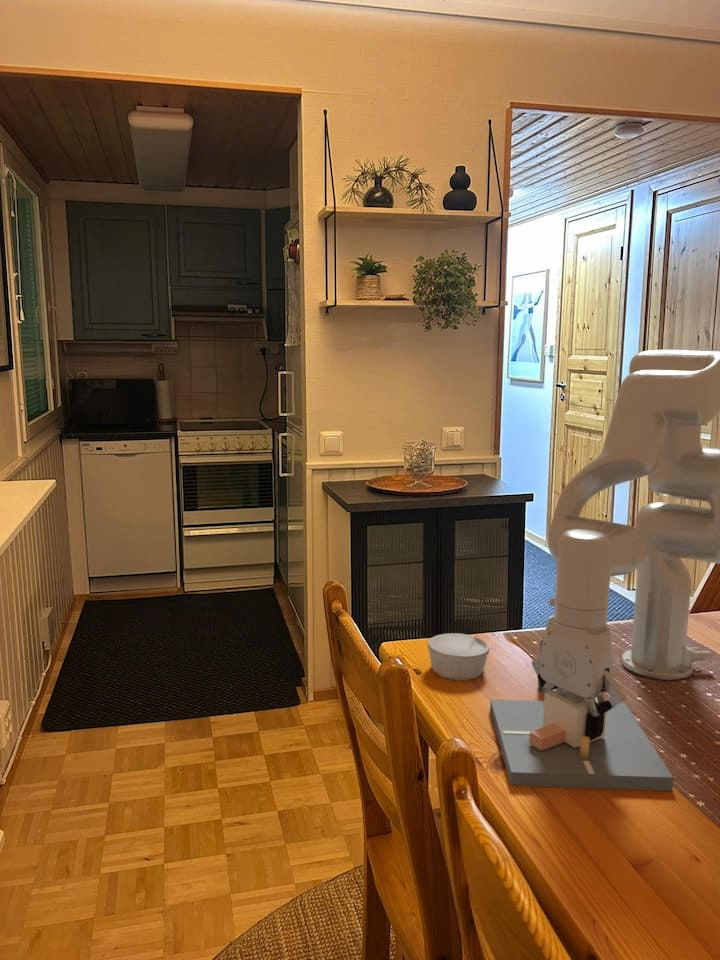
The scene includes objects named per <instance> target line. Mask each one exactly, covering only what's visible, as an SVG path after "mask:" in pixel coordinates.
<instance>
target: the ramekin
mask: <svg viewBox="0 0 720 960" xmlns="http://www.w3.org/2000/svg"><path fill="white" fill-rule="evenodd" d="M427 648H428V650H429V658H430V664H431V665H430V666H431V668H432V670H433V671H434V673H435V674H436V675H438V676H440V677H441V678H445V679H449V680H453V681H469V680H473V679H476V678H478V677H480V675H482V674H483V672H484V670H485V666H486V662H487V657H488V655H489V653H490V646H489V644H488V643H487V641H485V640H483V639H482V638H480V637H477V636H475V635H470V634H466V633H460V632H459V633H457V632H456V633H453V632H451V633H449V632H448V633H442V634H437V635H434V636H433V637H431V638H430V639H429V640H428V642H427Z"/></svg>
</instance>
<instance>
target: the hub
mask: <svg viewBox="0 0 720 960" xmlns="http://www.w3.org/2000/svg"><path fill="white" fill-rule="evenodd" d="M565 695H566V690H563V689H561V688H557V689H554V690H551V691H548V692H545V694H544V700H543V701H544V715H543V728H540V729H537V730H534V731H531V732H530V738H529V744H531V745H533V746H534V747H536V748H538V749H539V750H541V751H542V750H544V749H547V748H550V747H552V746H555V745H558V744H560V743H563V742H566V743H567V744H569V745H571V746H573V747H574V748H576V747H579V746H580V744H581V736H585V734H586V720H587V715H588V714H590V713H591V712H590V709H589V705H588V702H587V699H586V701H583V702H580V703H575V702H573V701H571V700H569V699H567V698H565ZM595 698H596V702H597V705H599V704H598V701H597V697H595ZM606 700H608V698H606ZM605 726H606V712H605V715H604V728H603V733H602V735H601V736H599V737H597V738H595V739H593V740H591V741H590V742H592V741H594V740H597V739H599V738H602V737H605Z"/></svg>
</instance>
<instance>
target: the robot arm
mask: <svg viewBox="0 0 720 960" xmlns="http://www.w3.org/2000/svg"><path fill="white" fill-rule="evenodd" d="M628 369H629V371H628V372H629V374H628V375H627V376H626V377H625V378H624V379H623V380H622V383H621V385H620V388H619V390H618V393H617V397H616V401H615V404H614V407H613V412H612V415H611V418H610V422H609V425H608V428H607V432H606V435H605V440H604V443H603V446H602V450H601V453H600V454H599V455H598V456H597V457H596V458H595V459H593V460H592V461H590V462H589V463H588V464H586V465H585V466H584V467H582V468H581V469H580V470H579V471H578V472H577V473H575V475H574V476H572V478H571V479H570V481H568V482H567V484H566V485H565V486H564V488H563V489H562V491H561V493H560V495H559V496H558V499H557V503H556V506H555V509H554V512H553V516H552V519H551V522H550V526H549V532H548V537H547V542H548V543H547V544H548V550H549V552H550V555H551V556H552V557H553V558H554V559H555V560H556V562H557V563H556V578H555V592H554V594H555V595H554V597H551V598H550V600H549V606H550V607H551V606H552V607H553V608H554V609H553V611H554V612H553V615H551V616H549V618H548V621H547V623H546V627H545V630H544V635H543V638H542V639H543V644H542V651H541V656H540V655H539V657H537V658H535V659H534V660H532V661H531V666H532V668H533V670H534V671H535V673H536V675H537V681H538V680H539V681H540V683H541V685H542V687H543V689H542V691H541V692H542V693H543V695H545V692H548V691H551V690H554V689H557V688H561V689H563V690H566V691H568V692H570V693H573V694H575V695H577V696H580V697H582V698H585V699H587V702H588V705H589V709H590V712H591V713H590V714H588V715H587V720H586V734H585V736H587V737H589V738H590V741H591V740H593V739H595V738H597V737H599V736H601V735H602V733H603V728H604V715H605V712H608V711H609V710H610V709H612V708H614V707H615V706H616V705H618V704H619V703H623V702H624V701H625V700H626V696H625V694H624V693H623V691H622V689H621V688H620V686H619V685H618V683H617V682H616V681H615V679H614V678H613V672H614V671H613V669H614V668H613V666H614V662H613V661H614V660H613V658H614V657H613V656H614V655H613V643H612V641H613V640H612V634H611V629H610V627H609V626H608V613H609V612H608V611H609V600H610V583H611V578H612V577H615V576H623V575H624V576H625V575H628V574H632V573H633V572H634V571H636V582H635V583H636V585H635V596H634V611H633V622H632V623H633V624H632V634H631V635H632V636H631V647H630V649H629V650H627V651H624V652H623V653H622V654H621V663H622V665H623V666H624V667H625V668H626V669H627V670H628V671H631V672H632V671H633V673H635V674H637V675H640V676H644V677H647V678H650V679H656V680H667V681H671V680H672V681H675V680H676V679H677V680H681V679H682V678H683V679H686V678H688V677H690V676H691V675H692V674H693V672H694V671H693V669H694V665H693V663H695V661H698V662H708V663H709V662H712V661H713V655H712V652H711V651H710V650H700V648H699V647H698V646H693V647H692V646H688V645H687V638H688V637H687V635H688V628H689V627H688V626H689V625H688V624H689V616H690V603H691V595H692V593H691V592H692V577H691V574H690V571H689V570H688V568H687V566H686V563H684V561H683V559H688V560H693V561H700V562H706V563H712V564H720V448H718V447H717V448H716V447H707V446H706V447H705V446H703V445H702V443H701V434H702V432H701V431H702V426H705V425H707V424H708V423H710V422H711V421H712V420H714V418H715V417H716V416H717V415H718V414H719V413H720V351H719V350H691V349H690V350H689V349H687V350H685V349H653V350H652V349H651V350H644V351H641V352H638V353H636V354H635V355H634V356H633V357H632V358H631V360H630V363H629V368H628ZM646 476H647V484H648V487H649V489H650V490H651V491H652V492H653V493H655V494H657V495H660V496H665V497H669V498H677V499H684V500H691V501H697V502H698V501H699V502H705V503H707V504H708V505H709V507H710V508H709V507H703V506H702V507H701V506H696V505H695V506H694V505H688V504H681V503H675V502H667V501H665V502H664V501H659V502H658V501H657V502H652V503H651V502H650V503H647V504H645V505H644V506H643V507H642V508H640V509H639V511H638V513H637V515H636V517H635V526H632V525H630V524H629V525H628V524H623V523H618V522H611V521H606V520H599V519H594V518H590V517H589V518H586V517H583V516H582V517H581V513H582V511H583V509H584V507H585V505H586V504H587V503H588V502H589V501H590V500H591V499H592V498H593V497H594V496H596V495H597V494H598V493H600V492H603V490H606V489H608V488H611V487H614V486H617V485H620V484H624V483H627V482H630V481H633V480H637V479H640V478H644V477H646ZM605 693H608V695H609V698H607V700H606V694H605ZM595 697H597V701H598V704H599V705H597V702H596V698H595Z"/></svg>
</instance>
